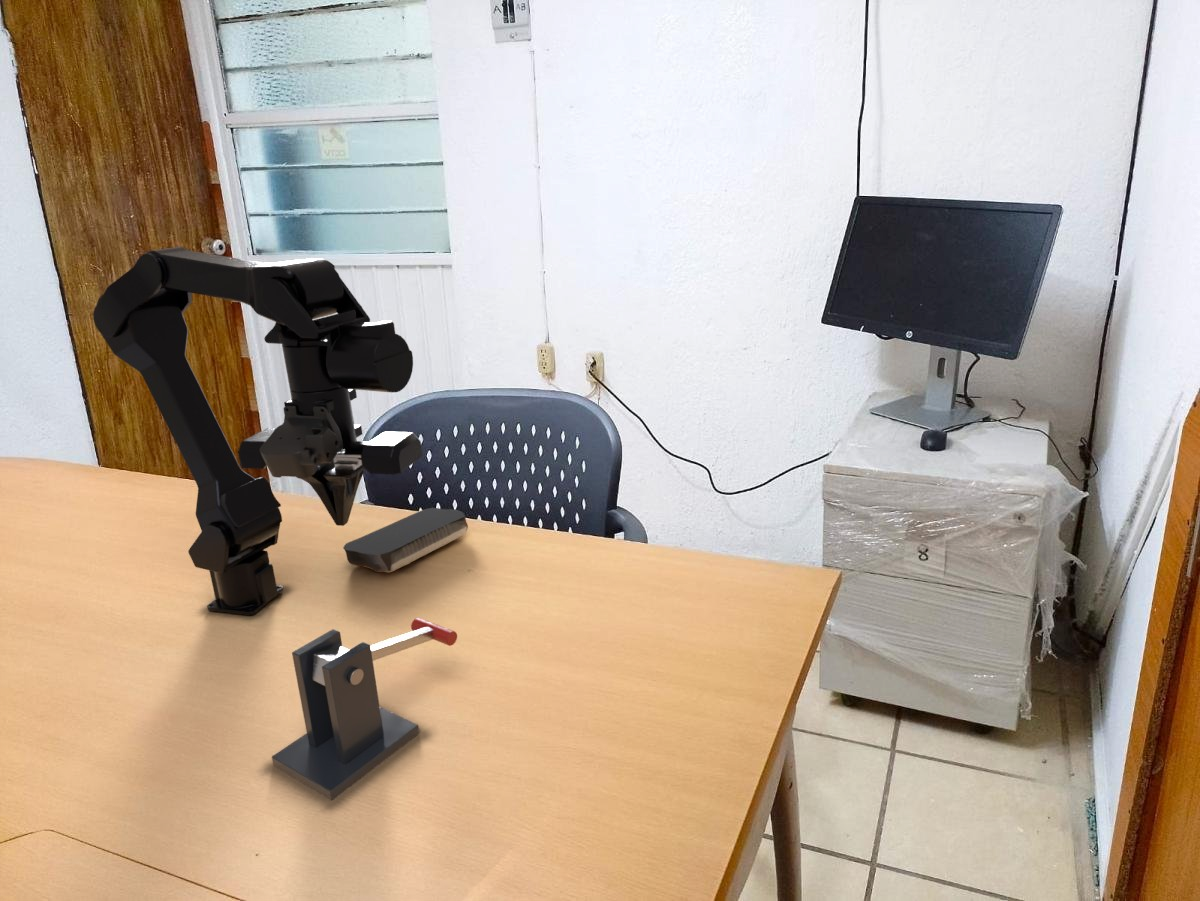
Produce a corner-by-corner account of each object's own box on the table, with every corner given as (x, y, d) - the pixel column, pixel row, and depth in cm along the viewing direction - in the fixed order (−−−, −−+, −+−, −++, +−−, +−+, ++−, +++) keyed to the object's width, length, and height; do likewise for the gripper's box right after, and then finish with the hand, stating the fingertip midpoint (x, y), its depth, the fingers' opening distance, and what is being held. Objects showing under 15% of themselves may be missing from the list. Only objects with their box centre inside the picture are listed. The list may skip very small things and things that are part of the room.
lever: (420, 634, 84) (422, 611, 84) (456, 648, 81) (458, 625, 81) (301, 675, 72) (302, 649, 72) (339, 693, 70) (340, 666, 69)
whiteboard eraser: (383, 584, 104) (379, 557, 103) (341, 567, 109) (337, 541, 108) (475, 537, 117) (472, 513, 115) (433, 523, 121) (431, 500, 120)
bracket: (362, 707, 81) (347, 610, 77) (420, 735, 77) (406, 634, 73) (273, 767, 73) (252, 663, 70) (332, 802, 69) (312, 693, 65)
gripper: (187, 406, 80) (220, 551, 85) (361, 409, 76) (384, 563, 81) (258, 377, 90) (283, 509, 95) (415, 379, 86) (432, 517, 91)
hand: (342, 524), depth 90 cm, fingers closed
